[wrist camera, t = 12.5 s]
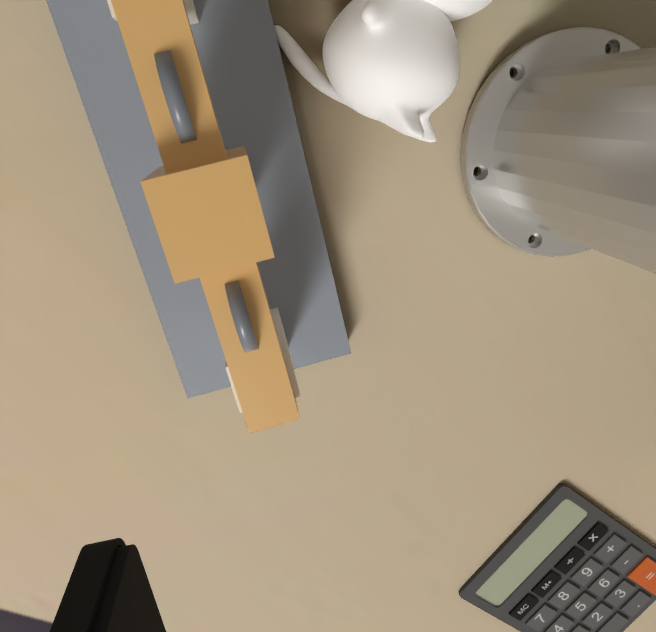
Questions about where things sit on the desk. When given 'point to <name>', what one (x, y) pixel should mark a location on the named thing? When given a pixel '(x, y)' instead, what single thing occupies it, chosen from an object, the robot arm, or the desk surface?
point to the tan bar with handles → (207, 205)
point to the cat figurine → (389, 59)
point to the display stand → (236, 130)
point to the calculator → (567, 571)
